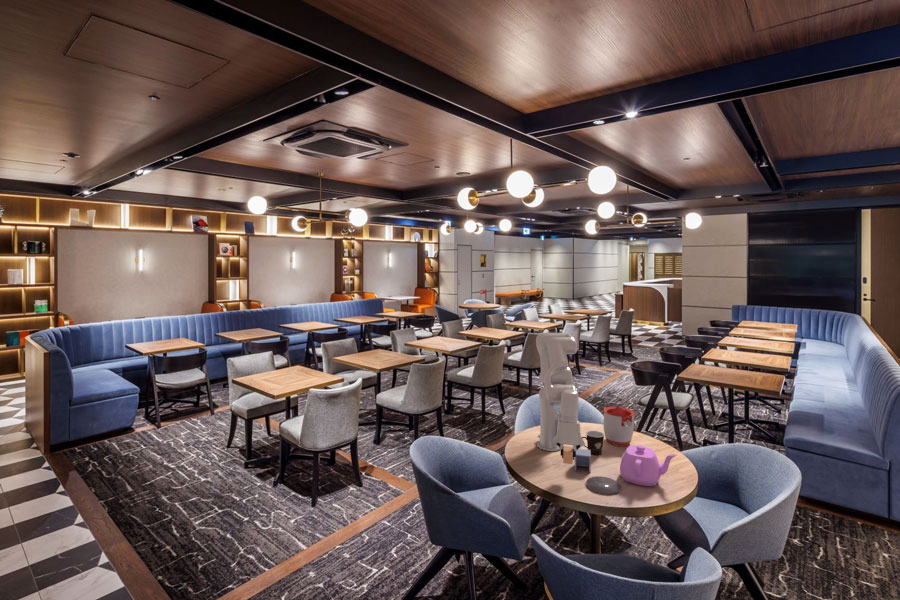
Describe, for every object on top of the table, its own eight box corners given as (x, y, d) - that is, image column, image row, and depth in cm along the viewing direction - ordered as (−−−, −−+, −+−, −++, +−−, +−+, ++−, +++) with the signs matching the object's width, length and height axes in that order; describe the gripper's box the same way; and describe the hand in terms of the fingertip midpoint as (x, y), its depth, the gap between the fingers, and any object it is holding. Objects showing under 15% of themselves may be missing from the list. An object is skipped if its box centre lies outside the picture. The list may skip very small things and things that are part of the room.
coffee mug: (603, 450, 229) (604, 431, 229) (603, 457, 221) (604, 438, 220) (580, 447, 233) (580, 429, 232) (579, 454, 225) (579, 435, 224)
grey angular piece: (574, 464, 214) (575, 448, 214) (590, 466, 212) (590, 449, 212) (574, 471, 208) (574, 454, 207) (590, 472, 206) (590, 456, 205)
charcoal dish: (579, 482, 197) (579, 480, 197) (604, 476, 202) (604, 474, 202) (602, 497, 184) (602, 495, 184) (627, 490, 190) (628, 488, 190)
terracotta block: (563, 457, 202) (563, 446, 201) (572, 458, 201) (573, 447, 199) (563, 463, 198) (563, 451, 197) (572, 464, 197) (572, 452, 196)
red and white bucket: (615, 450, 230) (616, 412, 228) (597, 437, 246) (597, 402, 245) (642, 447, 233) (643, 410, 231) (622, 435, 250) (623, 400, 248)
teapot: (615, 487, 193) (616, 453, 191) (622, 467, 211) (623, 436, 210) (675, 500, 182) (676, 464, 181) (676, 478, 200) (678, 445, 199)
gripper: (549, 419, 196) (548, 459, 198) (589, 423, 191) (587, 464, 193) (550, 413, 203) (549, 451, 205) (588, 416, 198) (587, 456, 200)
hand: (568, 457), depth 199 cm, fingers closed on terracotta block, 3 cm apart
